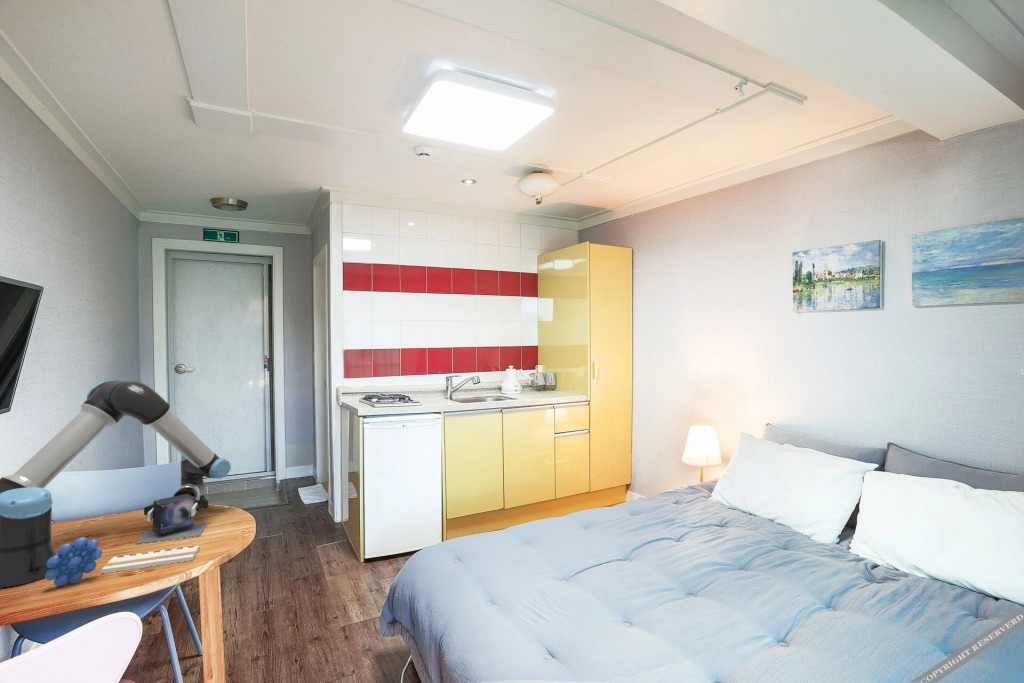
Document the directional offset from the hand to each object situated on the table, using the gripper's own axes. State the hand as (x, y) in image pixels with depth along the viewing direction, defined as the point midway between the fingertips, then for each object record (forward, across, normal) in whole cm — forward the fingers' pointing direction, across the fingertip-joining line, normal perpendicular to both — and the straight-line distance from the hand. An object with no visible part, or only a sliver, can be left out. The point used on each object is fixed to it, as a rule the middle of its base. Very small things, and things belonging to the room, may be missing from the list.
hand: (170, 514), depth 163 cm
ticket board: (+20, 0, -7) cm, 21 cm away
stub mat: (-4, 0, -8) cm, 8 cm away
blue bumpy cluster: (+27, +16, -8) cm, 32 cm away
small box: (-4, 0, -6) cm, 7 cm away
